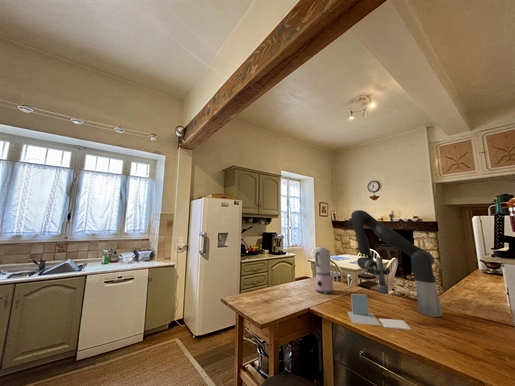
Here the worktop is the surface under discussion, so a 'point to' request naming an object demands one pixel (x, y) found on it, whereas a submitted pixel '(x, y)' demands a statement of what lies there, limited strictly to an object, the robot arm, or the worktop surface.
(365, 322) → the mat
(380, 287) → the grey pestle
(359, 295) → the tile
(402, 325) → the board
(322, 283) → the blender
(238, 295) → the worktop surface
